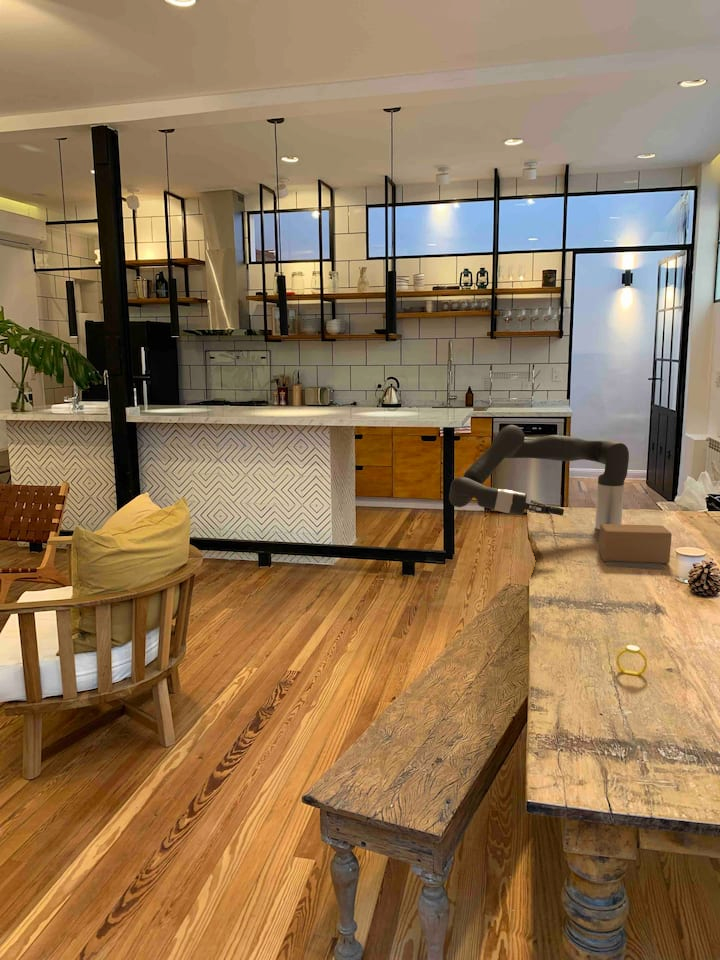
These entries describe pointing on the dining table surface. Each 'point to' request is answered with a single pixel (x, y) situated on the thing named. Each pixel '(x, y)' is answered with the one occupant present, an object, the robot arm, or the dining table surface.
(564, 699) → the dining table surface
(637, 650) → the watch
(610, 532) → the wooden block
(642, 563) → the charcoal mat
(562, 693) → the dining table surface
